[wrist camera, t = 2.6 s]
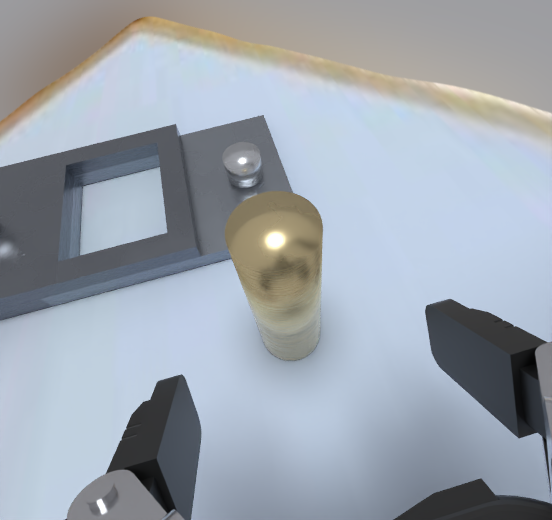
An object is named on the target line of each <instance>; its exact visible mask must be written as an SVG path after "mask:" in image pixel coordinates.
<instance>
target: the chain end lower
mask: <svg viewBox="0 0 552 520" xmlns="http://www.w3.org/2000/svg"><path fill="white" fill-rule="evenodd" d="M181 142H182V148H183V153H184V159H185V165H186V171H187V177H188V183H189V188H190V194H191V200H192V206H193V212H194V218H195V223H196V229H197V235H198V241H199V247H200V253H201V257H197V258H193V259H189V260H186V261H182V262H178V263H174V264H171V265H167V266H163V267H159V268H156V269H152V270H148V271H144V272H141V273H137V274H133V275H129V276H126V277H122V278H118V279H114V280H110V281H107V282H103V283H99V284H95V285H92V286H88V287H84V288H80V289H77V290H73V291H69V292H65V293H62V294H58V295H54V296H50V297H47V298H43V299H42V300H43V301H45V302H46V303H48V304H49V305H51V306H55V305H59V304H63V303H66V302H70V301H74V300H78V299H81V298H85V297H89V296H92V295H96V294H100V293H104V292H107V291H111V290H115V289H119V288H122V287H126V286H130V285H134V284H137V283H141V282H145V281H148V280H152V279H156V278H160V277H163V276H167V275H171V274H175V273H178V272H182V271H186V270H190V269H193V268H197V267H201V266H205V265H208V264H212V263H216V262H219V261H223V260H227V259H231V255H230V253H229V250H228V247H227V244H226V241H225V227H226V223H227V220H228V218H229V216H230V215H231V213H232V212H233V210H234V209H235V208H236V207H237V206H238V205H239V204H241V203H242V202H243V201H245V200H246V199H248V198H250V197H252V196H254V195H257V194H260V193H264V192H269V191H286V192H291V193H293V192H292V189H291V187H290V184H289V181H288V179H287V176H286V174H285V171H284V168H283V166H282V163H281V160H280V158H279V155H278V152H277V150H276V147H275V144H274V142H273V139H272V137H271V134H270V131H269V129H268V126H267V123H266V121H265V118H264V115H262V116H258V117H254V118H250V119H246V120H242V121H238V122H234V123H230V124H226V125H221V126H217V127H213V128H209V129H205V130H201V131H197V132H193V133H189V134H185V135H181ZM159 166H160V163H159V155H156V156H152V157H148V158H144V159H140V160H136V161H132V162H128V163H124V164H120V165H116V166H112V167H108V168H104V169H100V170H96V171H92V172H88V173H84V174H80V175H76V176H74V191H73V206H72V222H71V238H70V253H69V259H70V258H74V257H77V256H79V248H80V226H81V205H82V186H84V185H88V184H92V183H96V182H99V181H103V180H107V179H111V178H115V177H119V176H123V175H127V174H131V173H135V172H139V171H143V170H147V169H151V168H155V167H159Z"/></svg>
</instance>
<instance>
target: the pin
mask: <svg viewBox="0 0 552 520" xmlns="http://www.w3.org/2000/svg"><path fill="white" fill-rule="evenodd" d="M322 235H323V225H322V219H321V216H320V214H319V212H318V210H317V209H316V208H315V206H314V205H313V204H312V203H311V202H309V201H308V200H307V199H305V198H303V197H302V196H299V195H297V194H294V193H291V192H286V191H269V192H264V193H260V194H257V195H254V196H252V197H250V198H248V199H246V200H245V201H243V202H242V203H241V204H239V205H238V206H237V207H236V208H235V209H234V210H233V212H232V213H231V215H230V216H229V218H228V220H227V223H226V227H225V241H226V244H227V247H228V250H229V253H230V255H231V258H232V260H233V263H234V266H235V268H236V271H237V273H238V276H239V279H240V281H241V284H242V287H243V289H244V292H245V294H246V297H247V300H248V302H249V305H250V307H251V310H252V313H253V315H254V318H255V320H256V323H257V326H258V328H259V331H260V333H261V336H262V339H263V341H264V344H265V346H266V348H267V349H268V350H269V352H270V353H271V354H273V355H274V356H275V357H277V358H279V359H282V360H286V361H295V360H300V359H302V358H304V357H306V356H308V355H309V354H310V353H311V352H312V351H313V350H314V349H315V348H316V346H317V344H318V341H319V337H320V310H321V272H322Z"/></svg>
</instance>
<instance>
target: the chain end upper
mask: <svg viewBox="0 0 552 520" xmlns="http://www.w3.org/2000/svg"><path fill="white" fill-rule="evenodd" d="M156 155H159V163H160V171H161V180H162V188H163V197H164V206H165V214H166V223H167V231H168V233H165V234H162V235H158V236H154V237H150V238H146V239H142V240H139V241H135V242H131V243H127V244H123V245H120V246H116V247H112V248H108V249H104V250H100V251H97V252H93V253H89V254H85V255H81V256H77V257H74V258H70V259H69V253H70V238H71V222H72V206H73V191H74V176H76V175H80V174H84V173H88V172H92V171H96V170H100V169H104V168H108V167H112V166H116V165H120V164H124V163H128V162H132V161H136V160H140V159H144V158H148V157H152V156H156ZM197 257H201V253H200V247H199V241H198V235H197V229H196V223H195V218H194V212H193V206H192V200H191V194H190V188H189V183H188V177H187V171H186V165H185V159H184V153H183V148H182V142H181V136H180V133H179V131H178V128H177V126H176V124H175V125H171V126H166V127H162V128H158V129H154V130H150V131H146V132H142V133H138V134H134V135H130V136H126V137H122V138H118V139H114V140H110V141H106V142H102V143H97V144H93V145H89V146H85V147H81V148H77V149H73V150H69V151H65V152H61V153H57V154H53V155H49V156H45V157H41V158H37V159H33V160H28V161H24V162H20V163H16V164H12V165H8V166H4V167H0V320H3V319H7V318H10V317H14V316H18V315H22V314H25V313H29V312H33V311H36V310H40V309H44V308H48V307H51V305H49V304H48V303H46V302H45V301H43V300H42V299H43V298H47V297H50V296H54V295H58V294H62V293H65V292H69V291H73V290H77V289H80V288H84V287H88V286H92V285H95V284H99V283H103V282H107V281H110V280H114V279H118V278H122V277H126V276H129V275H133V274H137V273H141V272H144V271H148V270H152V269H156V268H159V267H163V266H167V265H171V264H174V263H178V262H182V261H186V260H189V259H193V258H197Z"/></svg>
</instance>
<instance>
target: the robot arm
mask: <svg viewBox="0 0 552 520" xmlns="http://www.w3.org/2000/svg"><path fill="white" fill-rule="evenodd" d="M425 313H426V320H427V326H428V332H429V339H430V345H431V351H432V354H433V356H434V359H435V361H436V362H437V364H438V365H439V367H440V368H441V369H442V370H443V371H444V372H446V373H447V374H448V375H449V376H450V377H451V378H452V379H453V380H454V381H456V382H457V383H458V384H459V385H460V386H461V387H462V388H463V389H464V390H466V391H467V392H468V393H469V394H470V395H471V396H472V397H473V398H474V399H476V400H477V401H478V402H479V403H480V404H481V405H482V406H483V407H484V408H486V409H487V410H488V411H489V412H490V413H491V414H492V415H493V416H494V417H496V418H497V419H498V420H499V421H500V422H501V423H502V424H503V425H504V426H506V427H507V428H508V429H509V430H510V431H511V432H512V433H513V434H514V435H516V436H517V437H518V438H521V437H525V436H528V435H531V434H534V433H537V432H538V433H539V434H540V435H541V436H542V441H543V451H544V458H545V465H546V473H547V480H548V487H549V494H550V501H551V504H550V503H547V502H544V501H540V500H536V499H531V498H526V497H519V496H506V495H496V496H495V495H494V493H493V492H492V491H491V490H490V489H489V487H488V486H487V485H486V484H485V483H484V481H483V480H482V479H478V480H475V481H472V482H468V483H465V484H462V485H459V486H456V487H453V488H449V489H446V490H443V491H440V492H437V493H434V494H432V495H431V496H429V497H427V498H426V499H424V500H423V501H421V502H420V503H418V504H417V505H415V506H414V507H412V508H411V509H409V510H408V511H406V512H405V513H403V514H402V515H400V516H398V517H397V518H395V519H394V520H552V342H546V341H544V340H542V339H540V338H538V337H536V336H534V335H532V334H530V333H528V332H526V331H524V330H522V329H520V328H518V327H516V326H515V327H514V326H513V325H512V324H510V323H509V322H507V321H503V320H502V319H501V318H499V317H497V316H495V315H493V314H491V313H489V312H485V311H480V310H476V309H469V308H467V307H465V306H463V305H461V304H460V303H458V302H456V301H454V300H452V299H448V300H444V301H440V302H437V303H433V304H430V305H427V306H426V310H425ZM126 428H127V430H125V431H124V434H123V436H122V441H120V443H119V445H118V447H117V450H116V452H115V454H114V456H113V459H112V461H111V463H110V466H109V468H108V470H107V472H106V474H105V475H103V476H101V477H99V478H97V479H96V480H94V481H93V482H92V483H90V484H89V485H88V486H86V487H85V488H84V489H83V490H82V491H81V492H80V493H79V494H78V495H77V497H76V498H75V499H74V501H73V502H72V504H71V506H70V508H69V510H68V514H67V519H65V520H191V514H192V506H193V498H194V491H195V483H196V475H197V467H198V459H199V452H200V444H201V426H200V421H199V417H198V414H197V411H196V408H195V405H194V402H193V399H192V396H191V394H190V391H189V388H188V385H187V382H186V380H185V378H184V376H183V375H178V376H174V377H171V378H167V379H164V380H160V381H158V382H157V384H156V386H155V389H154V392H153V394H152V397H151V399H150V400H149V401H145V402H143V403H142V404H141V405H140V406H139V407H138V408H137V410H136V411H135V412H134V413H133V414H132V416H131V418H130V420H129V422H128V425H127V427H126Z"/></svg>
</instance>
